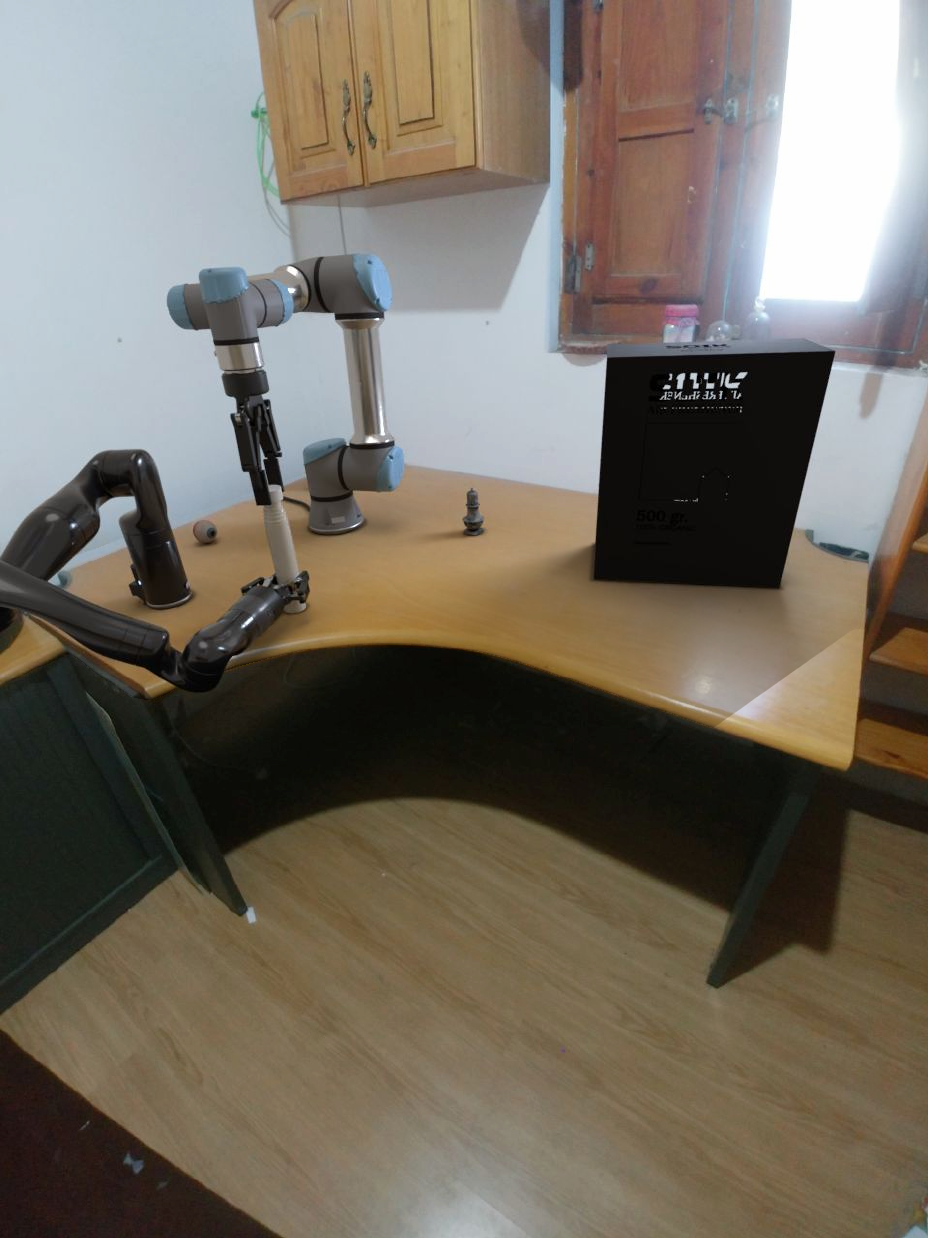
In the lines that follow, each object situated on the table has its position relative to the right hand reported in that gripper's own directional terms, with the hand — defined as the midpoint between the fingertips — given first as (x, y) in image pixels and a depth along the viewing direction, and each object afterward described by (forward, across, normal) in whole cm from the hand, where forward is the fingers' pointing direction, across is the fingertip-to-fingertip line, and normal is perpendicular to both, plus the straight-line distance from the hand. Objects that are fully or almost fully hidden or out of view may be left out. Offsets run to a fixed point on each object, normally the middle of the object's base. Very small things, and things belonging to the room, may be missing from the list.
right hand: (271, 497), depth 116 cm
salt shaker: (+24, -40, +36) cm, 59 cm away
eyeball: (+24, -38, -36) cm, 57 cm away
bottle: (+24, 0, 0) cm, 24 cm away
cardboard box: (+24, -17, +84) cm, 89 cm away
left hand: (+18, -3, 0) cm, 18 cm away
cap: (-2, 0, 0) cm, 2 cm away
